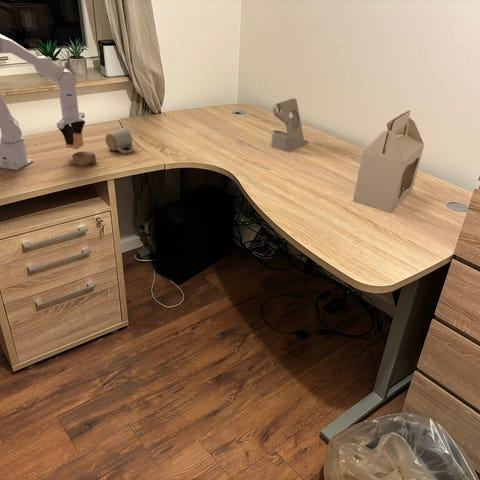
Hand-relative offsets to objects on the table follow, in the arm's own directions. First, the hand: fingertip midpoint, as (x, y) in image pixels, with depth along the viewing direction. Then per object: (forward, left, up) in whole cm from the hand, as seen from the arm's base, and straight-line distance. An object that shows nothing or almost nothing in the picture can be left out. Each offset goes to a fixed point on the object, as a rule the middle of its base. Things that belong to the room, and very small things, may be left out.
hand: (73, 142), depth 174 cm
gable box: (+9, -113, -6) cm, 114 cm away
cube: (0, 0, -2) cm, 2 cm away
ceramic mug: (+14, -12, -6) cm, 19 cm away
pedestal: (-4, -6, -6) cm, 9 cm away
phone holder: (+47, -73, -6) cm, 87 cm away
